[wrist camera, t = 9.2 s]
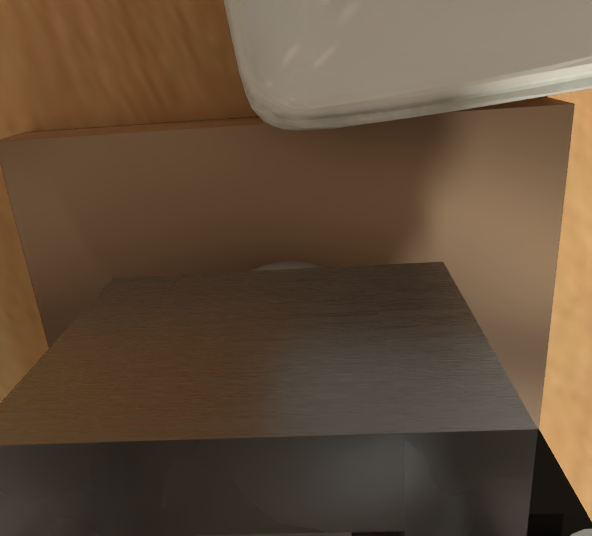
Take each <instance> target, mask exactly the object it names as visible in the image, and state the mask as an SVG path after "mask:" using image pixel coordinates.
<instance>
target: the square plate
mask: <svg viewBox="0 0 592 536" xmlns="http://www.w3.org/2000/svg"><path fill="white" fill-rule="evenodd" d="M224 5H225V10H226V15H227V20H228V24H229V29H230V33H231V38H232V43H233V47H234V52H235V57H236V61H237V66H238V70H239V74H240V77H241V80H242V84H243V87H244V90H245V94H246V96H247V99H248V101H249V103H250V106H251V108H252V110H253V111H254V112H255V113H256V114H257V115H258V116H259V117H260V118H261V119H262V120H263V121H264V122H266V123H268V124H270V125H272V126H275V127H278V128H281V129H285V130H315V129H332V128H342V127H349V126H356V125H363V124H370V123H377V122H384V121H391V120H398V119H406V118H413V117H420V116H427V115H434V114H441V113H447V112H453V111H459V110H465V109H471V108H477V107H483V106H489V105H495V104H501V103H507V102H513V101H519V100H525V99H531V98H537V97H543V96H549V95H555V94H561V93H567V92H574V91H580V90H586V89H592V0H224Z"/></svg>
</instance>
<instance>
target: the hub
mask: <svg viewBox="0 0 592 536" xmlns="http://www.w3.org/2000/svg"><path fill="white" fill-rule="evenodd" d="M537 433H538V428H537V427H536V425H535V423H534V421H533V420H532V418H531V416H530V414H529V412H528V411H527V409H526V407H525V405H524V404H523V402H522V400H521V398H520V397H519V395H518V393H517V391H516V389H515V388H514V386H513V384H512V382H511V381H510V379H509V377H508V375H507V374H506V372H505V370H504V368H503V366H502V365H501V363H500V361H499V359H498V358H497V356H496V354H495V352H494V351H493V349H492V347H491V345H490V343H489V342H488V340H487V338H486V336H485V335H484V333H483V331H482V329H481V328H480V326H479V324H478V322H477V320H476V319H475V317H474V315H473V313H472V312H471V310H470V308H469V306H468V305H467V303H466V301H465V299H464V298H463V296H462V294H461V292H460V290H459V289H458V287H457V285H456V283H455V282H454V280H453V278H452V276H451V275H450V273H449V271H448V269H447V267H446V266H445V264H444V262H424V263H404V264H383V265H363V266H342V267H322V268H301V269H281V270H260V271H240V272H219V273H199V274H178V275H158V276H138V277H117V278H112V279H111V280H110V281H109V282H108V284H107V285H106V286H105V287H104V288H103V289H102V290H101V291H100V292H99V294H98V295H97V296H96V297H95V298H94V299H93V300H92V301H91V303H90V304H89V305H88V306H87V307H86V308H85V309H84V310H83V311H82V313H81V314H80V315H79V316H78V317H77V318H76V319H75V320H74V322H73V323H72V324H71V325H70V326H69V327H68V328H67V329H66V331H65V332H64V333H63V334H62V335H61V336H60V337H59V338H58V339H57V341H56V342H55V343H54V344H53V345H52V346H51V347H50V348H49V350H48V351H47V352H46V353H45V354H44V355H43V356H42V357H41V359H40V360H39V361H38V362H37V363H36V364H35V365H34V366H33V367H32V369H31V370H30V371H29V372H28V373H27V374H26V375H25V376H24V378H23V379H22V380H21V381H20V382H19V383H18V384H17V385H16V387H15V388H14V389H13V390H12V391H11V392H10V393H9V394H8V395H7V397H6V398H5V399H4V400H3V401H2V402H1V403H0V536H196V535H234V534H286V533H338V532H351V535H352V536H527V527H528V517H529V508H530V499H531V489H532V480H533V470H534V461H535V452H536V442H537Z"/></svg>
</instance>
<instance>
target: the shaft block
mask: <svg viewBox="0 0 592 536" xmlns="http://www.w3.org/2000/svg"><path fill="white" fill-rule="evenodd" d="M573 113H574V104H573V103H569V102H565V101H561V100H557V99H552V98H534V99H525V100H519V101H513V102H507V103H501V104H495V105H489V106H483V107H477V108H471V109H465V110H459V111H453V112H447V113H441V114H434V115H427V116H420V117H413V118H406V119H398V120H391V121H384V122H377V123H370V124H363V125H356V126H349V127H342V128H332V129H315V130H285V129H281V128H278V127H275V126H272V125H270V124H268V123H266V122H264V121H263V120H262V119H261V118H260V117H247V118H232V119H217V120H202V121H187V122H171V123H156V124H141V125H126V126H111V127H96V128H81V129H66V130H51V131H36V132H25V133H22V134H18V135H15V136H12V137H9V138H5V139H2V140H0V165H1V168H2V172H3V176H4V180H5V183H6V187H7V191H8V195H9V199H10V202H11V206H12V210H13V214H14V218H15V221H16V225H17V229H18V233H19V237H20V240H21V244H22V248H23V252H24V255H25V259H26V263H27V267H28V271H29V274H30V278H31V282H32V286H33V290H34V293H35V297H36V301H37V305H38V309H39V312H40V316H41V320H42V324H43V328H44V331H45V335H46V339H47V343H48V346H49V348H50V347H51V346H52V345H53V344H54V343H55V342H56V341H57V339H58V338H59V337H60V336H61V335H62V334H63V333H64V332H65V331H66V329H67V328H68V327H69V326H70V325H71V324H72V323H73V322H74V320H75V319H76V318H77V317H78V316H79V315H80V314H81V313H82V311H83V310H84V309H85V308H86V307H87V306H88V305H89V304H90V303H91V301H92V300H93V299H94V298H95V297H96V296H97V295H98V294H99V292H100V291H101V290H102V289H103V288H104V287H105V286H106V285H107V284H108V282H109V281H110V280H111V279H112V278H117V277H138V276H158V275H178V274H199V273H219V272H240V271H260V270H281V269H301V268H322V267H342V266H363V265H383V264H404V263H424V262H444V264H445V266H446V267H447V269H448V271H449V273H450V275H451V276H452V278H453V280H454V282H455V283H456V285H457V287H458V289H459V290H460V292H461V294H462V296H463V298H464V299H465V301H466V303H467V305H468V306H469V308H470V310H471V312H472V313H473V315H474V317H475V319H476V320H477V322H478V324H479V326H480V328H481V329H482V331H483V333H484V335H485V336H486V338H487V340H488V342H489V343H490V345H491V347H492V349H493V351H494V352H495V354H496V356H497V358H498V359H499V361H500V363H501V365H502V366H503V368H504V370H505V372H506V374H507V375H508V377H509V379H510V381H511V382H512V384H513V386H514V388H515V389H516V391H517V393H518V395H519V397H520V398H521V400H522V402H523V404H524V405H525V407H526V409H527V411H528V412H529V414H530V416H531V418H532V420H533V421H534V423H535V425H536V426H537V428H538V429H539V422H540V413H541V404H542V395H543V386H544V377H545V368H546V359H547V350H548V341H549V331H550V322H551V313H552V304H553V295H554V286H555V277H556V268H557V259H558V250H559V241H560V232H561V222H562V213H563V204H564V195H565V186H566V177H567V168H568V159H569V150H570V141H571V132H572V123H573ZM196 536H352V535H351V532H338V533H286V534H234V535H196Z"/></svg>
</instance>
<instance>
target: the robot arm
mask: <svg viewBox="0 0 592 536" xmlns="http://www.w3.org/2000/svg"><path fill="white" fill-rule="evenodd" d="M536 427H537V426H536ZM527 536H592V522H591V520H590V518H589V517H588V515H587V513H586V511H585V510H584V508H583V506H582V504H581V502H580V501H579V499H578V497H577V495H576V494H575V492H574V490H573V488H572V487H571V485H570V483H569V481H568V480H567V478H566V476H565V474H564V472H563V471H562V469H561V467H560V465H559V464H558V462H557V460H556V458H555V457H554V455H553V453H552V451H551V450H550V448H549V446H548V444H547V443H546V441H545V439H544V437H543V435H542V434H541V432H540V431H539V429H538V433H537V442H536V452H535V461H534V470H533V480H532V489H531V499H530V508H529V517H528V527H527Z"/></svg>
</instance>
